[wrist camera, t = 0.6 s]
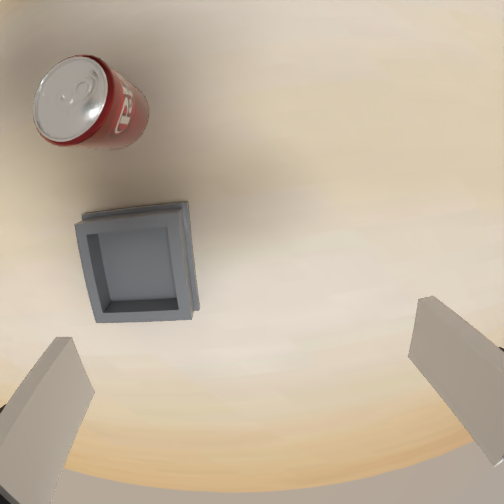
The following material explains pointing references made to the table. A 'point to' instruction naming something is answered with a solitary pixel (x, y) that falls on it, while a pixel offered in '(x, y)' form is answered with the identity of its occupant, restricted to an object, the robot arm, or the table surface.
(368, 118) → the table surface
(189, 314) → the box
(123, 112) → the soda can
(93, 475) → the table surface
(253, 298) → the table surface
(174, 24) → the table surface
